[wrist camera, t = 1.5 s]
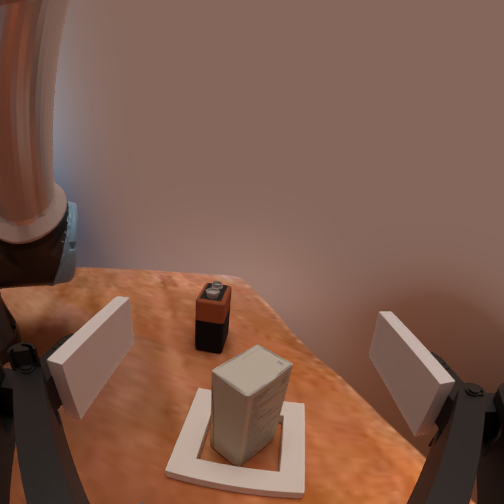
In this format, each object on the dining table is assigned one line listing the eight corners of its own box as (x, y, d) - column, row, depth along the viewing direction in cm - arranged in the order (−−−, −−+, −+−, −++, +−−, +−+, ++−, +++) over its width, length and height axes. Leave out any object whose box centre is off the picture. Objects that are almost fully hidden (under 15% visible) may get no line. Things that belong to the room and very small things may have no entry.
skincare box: (246, 420, 31) (258, 342, 28) (275, 440, 29) (295, 362, 25) (208, 447, 27) (209, 368, 23) (237, 470, 24) (248, 396, 21)
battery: (194, 350, 44) (195, 293, 41) (204, 328, 51) (206, 276, 48) (221, 354, 44) (225, 298, 41) (228, 332, 51) (232, 280, 48)
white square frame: (166, 476, 22) (165, 470, 21) (198, 395, 35) (198, 387, 34) (300, 498, 21) (304, 492, 20) (301, 411, 34) (304, 403, 33)
